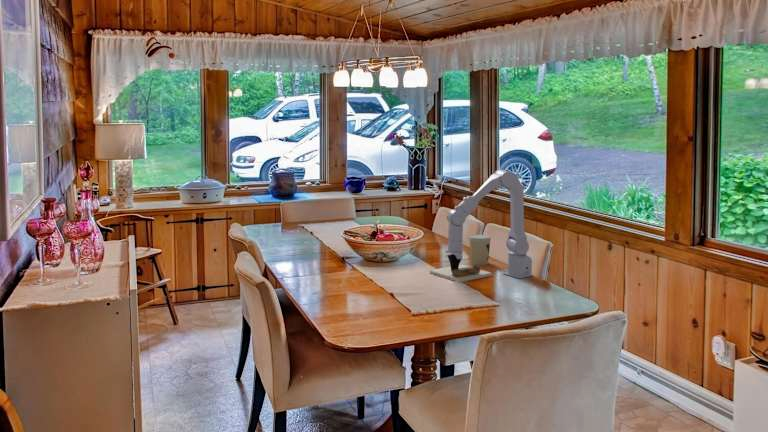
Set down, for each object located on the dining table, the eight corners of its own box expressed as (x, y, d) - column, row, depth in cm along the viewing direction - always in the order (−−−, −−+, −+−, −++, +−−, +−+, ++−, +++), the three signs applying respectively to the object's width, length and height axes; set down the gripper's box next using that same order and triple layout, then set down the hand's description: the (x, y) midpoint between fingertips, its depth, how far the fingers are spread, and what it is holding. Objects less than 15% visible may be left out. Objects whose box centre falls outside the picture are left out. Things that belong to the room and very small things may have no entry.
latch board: (491, 275, 280) (491, 272, 280) (458, 282, 269) (458, 279, 269) (461, 267, 294) (461, 264, 294) (429, 273, 284) (429, 270, 284)
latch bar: (475, 271, 280) (475, 264, 280) (479, 272, 278) (479, 266, 277) (452, 275, 274) (452, 268, 274) (455, 276, 272) (456, 269, 271)
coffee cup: (491, 265, 297) (492, 238, 295) (469, 265, 297) (470, 238, 295) (488, 260, 306) (489, 234, 304) (467, 260, 306) (468, 234, 304)
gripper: (441, 236, 280) (440, 268, 282) (450, 243, 266) (449, 277, 268) (458, 235, 281) (457, 268, 283) (467, 243, 267) (466, 276, 269)
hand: (454, 272), depth 275 cm, fingers closed, pressing on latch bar
